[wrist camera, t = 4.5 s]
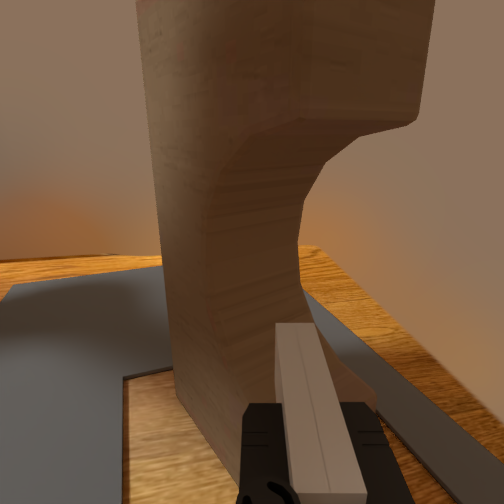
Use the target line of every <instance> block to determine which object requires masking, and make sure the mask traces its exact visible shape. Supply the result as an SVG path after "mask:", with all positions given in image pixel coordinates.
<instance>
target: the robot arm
mask: <svg viewBox="0 0 504 504" xmlns="http://www.w3.org/2000/svg"><path fill="white" fill-rule="evenodd" d="M275 392H276V403H249V405H248V407H247V409H246V411H245V412H244V414H243V416H242V436H241V458H240V481H239V494H238V496H237V500H236V504H415V502H414V500H413V498H412V496H411V493H410V491H409V489H408V486H407V484H406V482H405V479H404V477H403V475H402V472H401V470H400V468H399V466H398V463H397V461H396V459H395V456H394V454H393V452H392V449H391V448H390V447H389V442H388V440H387V438H386V435H385V434H384V431H383V428H382V426H381V424H380V422H379V419H378V417H377V415H376V414H375V413H374V412H373V411H372V410H371V409H370V407H369V406H368V405H367V404H366V403H365V402H339V401H338V398H337V395H336V391H335V388H334V385H333V382H332V379H331V375H330V372H329V369H328V366H327V363H326V359H325V356H324V353H323V350H322V347H321V343H320V340H319V337H318V334H317V331H316V327H315V324H314V323H276V326H275Z"/></svg>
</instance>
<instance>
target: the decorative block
mask: <svg viewBox="0 0 504 504" xmlns="http://www.w3.org/2000/svg"><path fill="white" fill-rule="evenodd" d="M434 6H435V0H136V11H137V20H138V31H139V41H140V50H141V60H142V70H143V80H144V89H145V99H146V109H147V119H148V129H149V138H150V148H151V158H152V167H153V177H154V185H155V196H156V205H157V215H158V223H159V234H160V244H161V253H162V263H163V273H164V283H165V293H166V303H167V313H168V322H169V332H170V341H171V351H172V361H173V370H174V380H175V389H176V396H177V397H178V399H179V400H180V402H181V403H182V405H183V406H184V408H185V409H186V410H187V412H188V413H189V415H190V416H191V418H192V419H193V421H194V422H195V424H196V425H197V427H198V428H199V430H200V431H201V433H202V434H203V435H204V437H205V438H206V440H207V441H208V443H209V444H210V446H211V447H212V449H213V450H214V452H215V453H216V455H217V456H218V458H219V459H220V460H221V462H222V463H223V465H224V466H225V468H226V469H227V471H228V472H229V474H230V475H231V477H232V478H233V479H234V481H235V482H236V484H237V485H238V487H239V481H240V458H241V436H242V416H243V414H244V412H245V411H246V409H247V407H248V405H249V403H276V392H275V326H276V323H314V324H315V322H314V319H313V316H312V314H311V311H310V308H309V305H308V303H307V300H306V297H305V294H304V292H303V289H302V286H301V283H300V271H299V257H298V243H297V241H298V236H299V229H300V222H301V217H302V210H303V204H304V200H305V198H306V196H307V194H308V193H309V191H310V189H311V187H312V186H313V184H314V182H315V180H316V179H317V177H318V175H319V173H320V171H321V170H322V168H323V166H324V164H325V163H326V162H327V161H328V160H330V159H331V158H332V157H333V156H335V155H336V154H337V153H339V152H340V151H341V150H343V149H344V148H345V147H346V146H348V145H349V144H350V143H352V142H353V141H354V140H356V139H357V138H358V137H360V136H365V135H369V134H373V133H377V132H382V131H386V130H390V129H394V128H399V127H404V126H407V125H409V124H410V123H412V122H413V121H415V120H416V119H417V116H418V114H419V108H420V102H421V94H422V88H423V81H424V75H425V68H426V60H427V53H428V47H429V40H430V33H431V26H432V20H433V13H434ZM315 327H316V331H317V334H318V337H319V340H320V343H321V347H322V350H323V353H324V356H325V359H326V363H327V366H328V369H329V372H330V375H331V379H332V382H333V385H334V388H335V391H336V395H337V398H338V401H339V402H365V403H366V404H367V405H368V406H369V407H370V409H371V410H372V411H373V412H374V413H375V410H376V403H377V394H376V393H375V391H374V390H373V389H372V388H371V387H370V386H369V385H368V384H366V383H365V382H364V381H363V380H362V379H361V378H360V377H358V376H357V375H356V374H355V373H354V372H353V371H352V370H350V369H349V368H348V367H347V366H346V365H345V364H344V363H343V362H341V361H340V359H339V358H338V356H337V355H336V353H335V352H334V350H333V349H332V348H331V346H330V345H329V343H328V342H327V340H326V339H325V337H324V336H323V334H322V333H321V332H320V330H319V329H318V327H317V326H316V324H315Z"/></svg>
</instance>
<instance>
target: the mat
mask: <svg viewBox="0 0 504 504" xmlns="http://www.w3.org/2000/svg"><path fill="white" fill-rule="evenodd" d="M303 292H304V294H305V297H306V300H307V303H308V305H309V308H310V311H311V314H312V316H313V319H314V322H315V324H316V326H317V327H318V329H319V330H320V332H321V333H322V334H323V336H324V337H325V339H326V340H327V342H328V343H329V345H330V346H331V348H332V349H333V350H334V352H335V353H336V355H337V356H338V358H339V359H340V361H341V362H343V363H344V364H345V365H346V366H347V367H348V368H349V369H350V370H352V371H353V372H354V373H355V374H356V375H357V376H358V377H360V378H361V379H362V380H363V381H364V382H365V383H366V384H368V385H369V386H370V387H371V388H372V389H373V390H374V391H375V393H376V394H377V403H376V410H375V412H376V414H377V415H378V416H379V417H380V418H381V419H382V420H383V421H384V422H385V424H386V425H387V426H388V427H389V428H390V429H391V430H392V431H393V432H394V434H395V435H396V436H397V437H398V438H399V439H400V440H401V441H402V442H403V443H404V445H405V446H406V447H407V448H408V449H409V450H410V451H411V452H412V453H413V455H414V456H415V457H416V458H417V459H418V460H419V461H420V462H421V463H422V465H423V466H424V467H425V468H426V469H427V470H428V471H429V472H430V473H431V475H432V476H433V477H434V478H435V479H436V480H437V481H438V482H439V483H440V485H441V486H442V487H443V488H444V489H445V490H446V491H447V492H448V493H449V495H450V496H451V497H452V498H453V499H454V500H455V501H456V502H457V503H458V504H504V464H503V463H502V462H501V461H500V460H498V459H497V458H496V457H495V456H494V455H493V454H492V453H490V452H489V451H488V450H487V449H486V448H485V447H484V446H482V445H481V444H480V443H479V442H478V441H477V440H475V439H474V438H473V437H472V436H471V435H470V434H469V433H467V432H466V431H465V430H464V429H463V428H462V427H461V426H459V425H458V424H457V423H456V422H455V421H454V420H453V419H451V418H450V417H449V416H448V415H447V414H446V413H444V412H443V411H442V410H441V409H440V408H439V407H438V406H436V405H435V404H434V403H433V402H432V401H431V400H430V399H428V398H427V397H426V396H425V395H424V394H423V393H422V392H420V391H419V390H418V389H417V388H416V387H415V386H413V385H412V384H411V383H410V382H409V381H408V380H407V379H405V378H404V377H403V376H402V375H401V374H400V373H399V372H397V371H396V370H395V369H394V368H393V367H392V366H391V365H389V364H388V363H387V362H386V361H385V360H384V359H383V358H381V357H380V356H379V355H378V354H377V353H376V352H374V351H373V350H372V349H371V348H370V347H369V346H368V345H366V344H365V343H364V342H363V341H362V340H361V339H360V338H358V337H357V336H356V335H355V334H354V333H353V332H352V331H350V330H349V329H348V328H347V327H346V326H345V325H343V324H342V323H341V322H340V321H339V320H338V319H337V318H335V317H334V316H333V315H332V314H331V313H330V312H329V311H327V310H326V309H325V308H324V307H323V306H322V305H321V304H319V303H318V302H317V301H316V300H315V299H314V298H312V297H311V296H310V295H309V294H308V293H307V292H306V291H304V290H303ZM171 369H173V361H172V351H171V341H170V332H169V322H168V313H167V303H166V293H165V283H164V273H163V266H156V267H148V268H140V269H133V270H125V271H117V272H109V273H101V274H94V275H86V276H78V277H70V278H62V279H55V280H47V281H39V282H31V283H23V284H16V285H13V286H12V287H11V289H10V290H9V291H8V293H7V294H6V296H5V297H4V298H3V300H2V301H1V302H0V504H122V484H123V380H126V379H130V378H135V377H139V376H144V375H148V374H153V373H157V372H162V371H166V370H171Z"/></svg>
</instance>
